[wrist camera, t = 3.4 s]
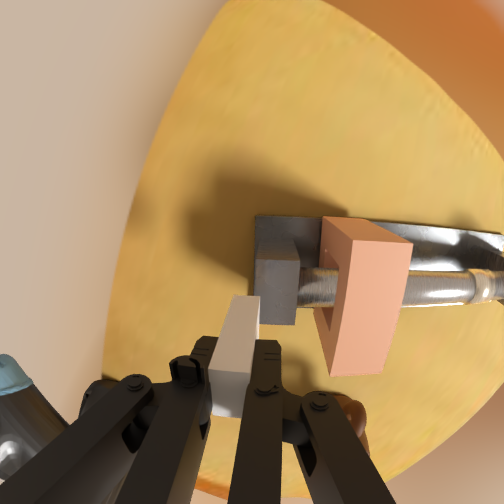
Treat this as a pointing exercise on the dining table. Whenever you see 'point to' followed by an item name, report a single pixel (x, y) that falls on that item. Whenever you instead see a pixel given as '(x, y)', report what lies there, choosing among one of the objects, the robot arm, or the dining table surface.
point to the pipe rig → (325, 279)
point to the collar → (361, 294)
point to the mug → (355, 417)
